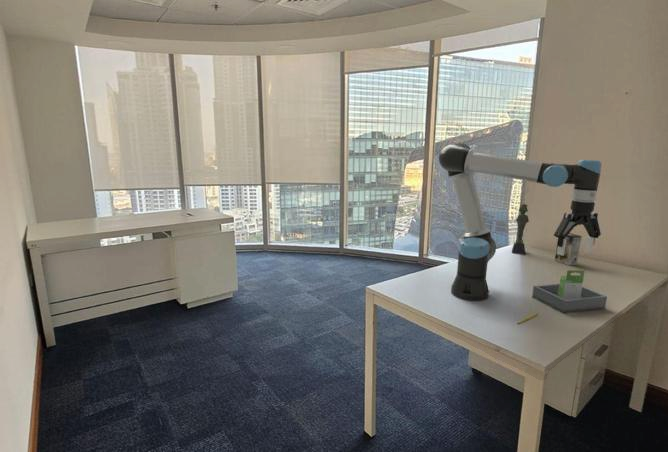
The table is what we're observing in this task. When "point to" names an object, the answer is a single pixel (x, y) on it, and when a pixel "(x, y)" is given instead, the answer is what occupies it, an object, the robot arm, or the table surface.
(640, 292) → the table surface
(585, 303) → the box
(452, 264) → the table surface
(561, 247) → the robot arm
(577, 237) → the coffee box
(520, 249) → the statue
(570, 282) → the ink box
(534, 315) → the pencil
